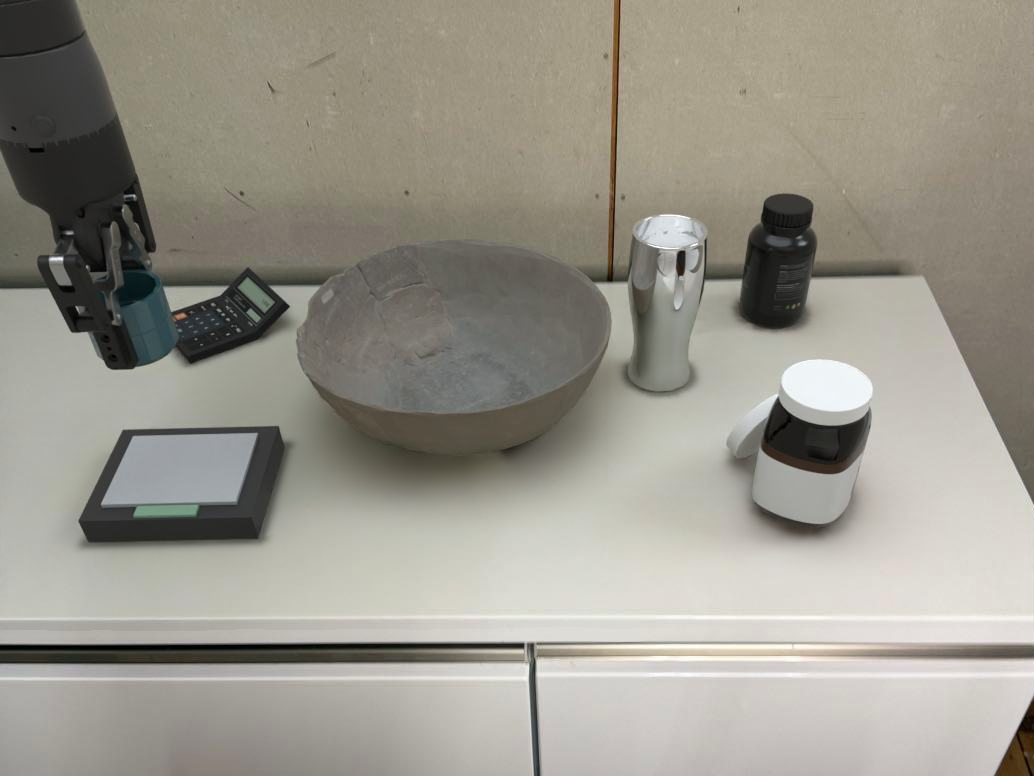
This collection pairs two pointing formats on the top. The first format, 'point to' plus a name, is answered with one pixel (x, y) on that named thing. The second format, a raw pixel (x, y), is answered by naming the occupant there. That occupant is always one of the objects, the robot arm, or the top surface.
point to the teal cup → (144, 316)
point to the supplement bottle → (779, 262)
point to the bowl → (454, 344)
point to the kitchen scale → (184, 484)
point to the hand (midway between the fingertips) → (136, 341)
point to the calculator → (228, 318)
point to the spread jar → (807, 442)
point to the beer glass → (664, 297)
